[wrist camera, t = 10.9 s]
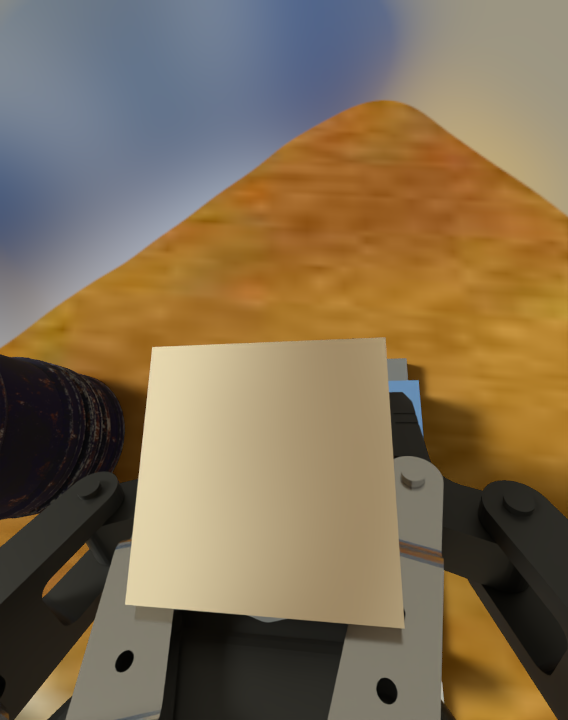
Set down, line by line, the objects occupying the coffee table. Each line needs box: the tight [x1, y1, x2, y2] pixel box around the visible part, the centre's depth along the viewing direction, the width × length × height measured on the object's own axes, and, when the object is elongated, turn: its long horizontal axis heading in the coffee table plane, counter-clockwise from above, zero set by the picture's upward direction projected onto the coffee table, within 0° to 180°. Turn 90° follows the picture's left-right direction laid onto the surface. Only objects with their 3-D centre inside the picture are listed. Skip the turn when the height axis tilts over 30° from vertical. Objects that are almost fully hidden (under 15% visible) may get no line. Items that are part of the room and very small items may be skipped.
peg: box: [125, 337, 405, 629], centre depth 11 cm, size 4×4×12 cm
